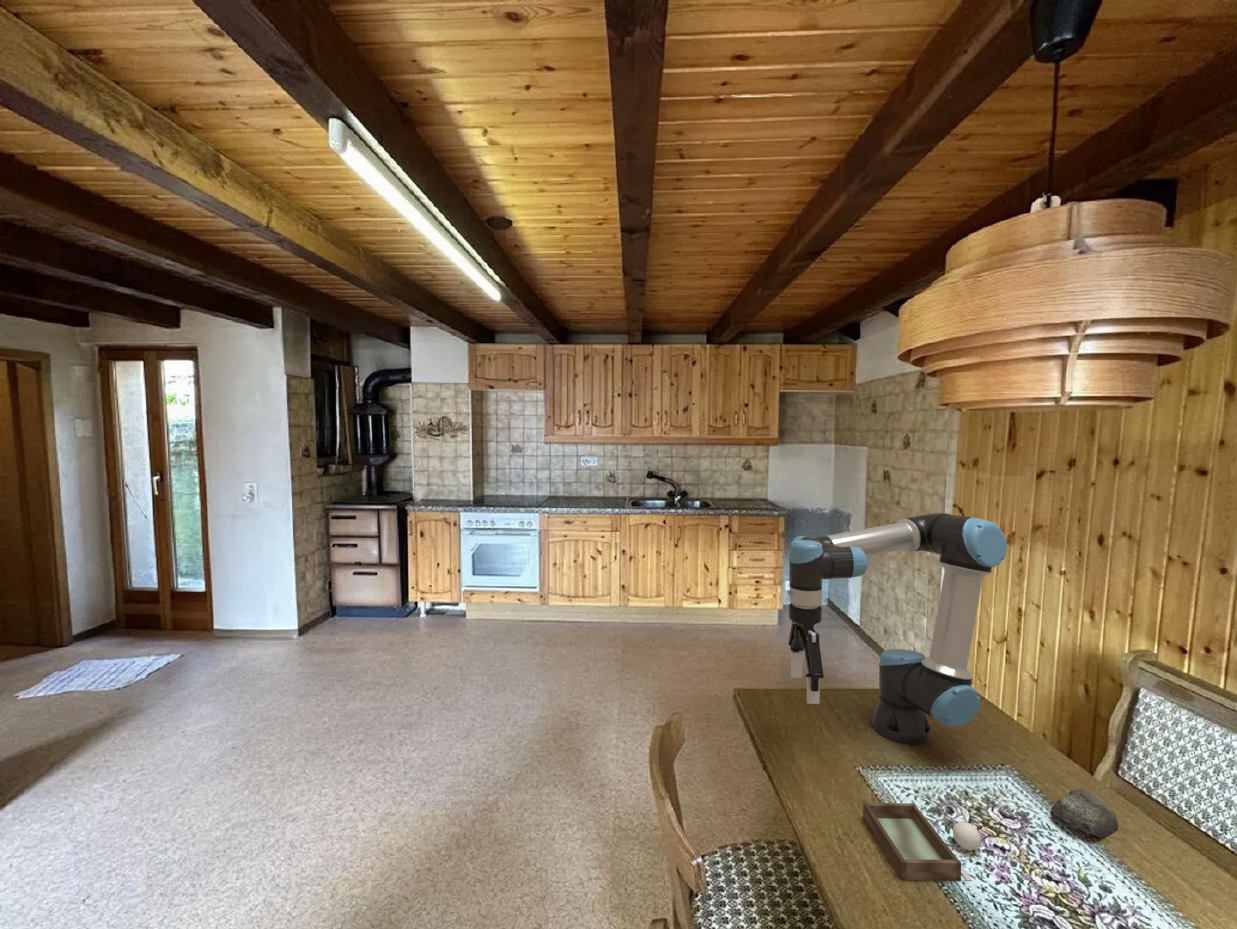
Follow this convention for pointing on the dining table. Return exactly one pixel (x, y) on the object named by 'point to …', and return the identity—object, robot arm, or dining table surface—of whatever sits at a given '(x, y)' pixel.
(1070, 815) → the rock
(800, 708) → the dining table surface
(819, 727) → the dining table surface
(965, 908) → the dining table surface
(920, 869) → the brown wooden tray
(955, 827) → the cream egg
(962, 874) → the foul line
